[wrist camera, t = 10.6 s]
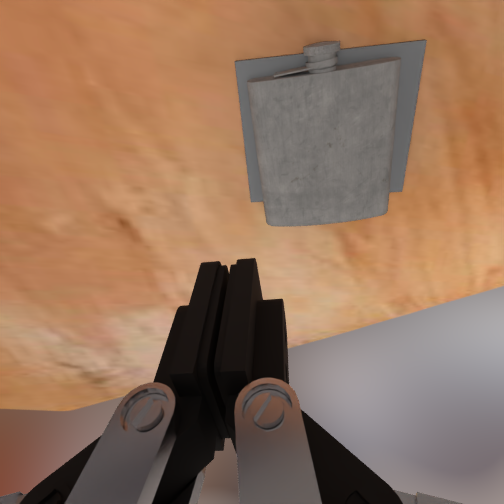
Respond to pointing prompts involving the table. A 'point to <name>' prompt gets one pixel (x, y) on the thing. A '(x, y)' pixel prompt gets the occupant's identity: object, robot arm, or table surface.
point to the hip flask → (325, 138)
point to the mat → (269, 66)
